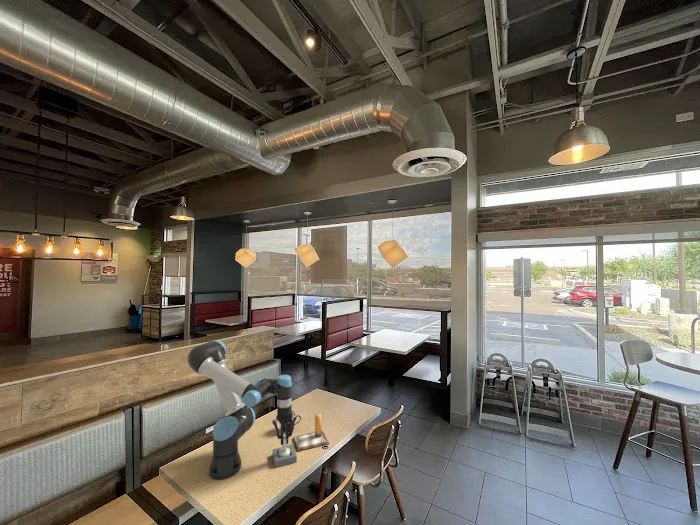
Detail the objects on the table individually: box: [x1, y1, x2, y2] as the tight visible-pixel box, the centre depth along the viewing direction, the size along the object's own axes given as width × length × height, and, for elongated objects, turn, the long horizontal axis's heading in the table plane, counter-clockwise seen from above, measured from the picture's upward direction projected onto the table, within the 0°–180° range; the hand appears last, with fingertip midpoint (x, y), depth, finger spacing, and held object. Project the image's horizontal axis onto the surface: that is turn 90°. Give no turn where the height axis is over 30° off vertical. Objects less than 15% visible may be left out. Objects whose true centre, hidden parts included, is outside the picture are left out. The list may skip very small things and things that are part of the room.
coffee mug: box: [284, 410, 302, 433], centre depth 182 cm, size 12×9×10 cm
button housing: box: [272, 444, 298, 468], centre depth 154 cm, size 11×11×3 cm
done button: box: [278, 447, 290, 458], centre depth 154 cm, size 6×6×3 cm
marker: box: [314, 413, 323, 438], centre depth 173 cm, size 4×4×12 cm
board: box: [293, 430, 330, 452], centre depth 169 cm, size 18×14×2 cm
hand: (284, 450), depth 154 cm, fingers closed
